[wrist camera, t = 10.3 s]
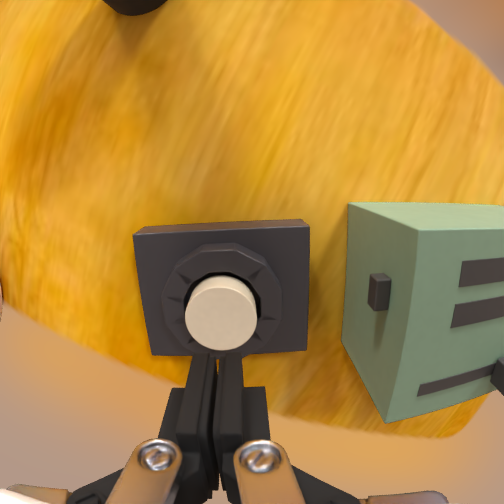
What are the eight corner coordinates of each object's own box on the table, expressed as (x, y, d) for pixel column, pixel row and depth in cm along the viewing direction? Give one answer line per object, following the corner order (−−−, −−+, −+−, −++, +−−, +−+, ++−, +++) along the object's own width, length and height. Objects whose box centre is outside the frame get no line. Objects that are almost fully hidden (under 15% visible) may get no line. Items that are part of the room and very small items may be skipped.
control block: (159, 338, 22) (145, 369, 18) (143, 226, 20) (122, 240, 16) (300, 333, 22) (311, 364, 18) (302, 218, 20) (316, 231, 16)
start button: (193, 335, 18) (189, 351, 16) (186, 276, 17) (180, 288, 15) (256, 333, 18) (257, 349, 16) (254, 273, 17) (255, 285, 15)
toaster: (330, 342, 22) (370, 428, 14) (335, 202, 20) (402, 229, 11) (482, 318, 23) (546, 368, 14) (499, 205, 20) (581, 228, 11)
